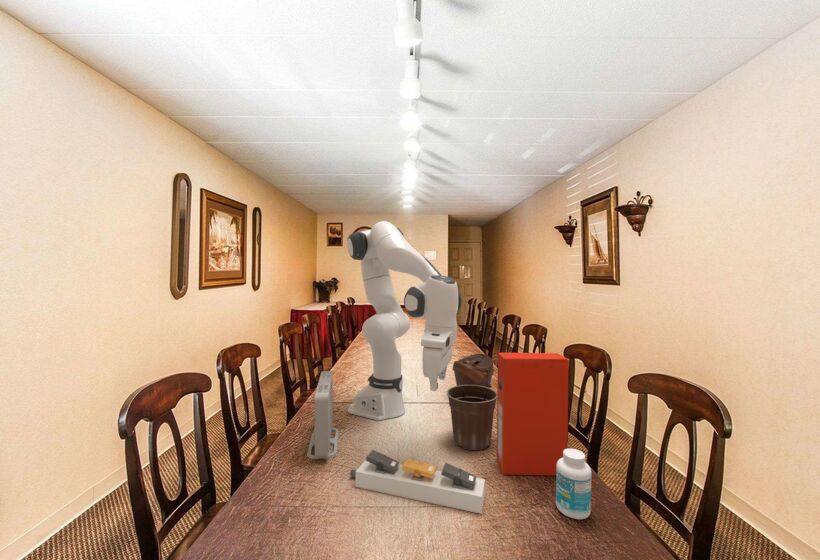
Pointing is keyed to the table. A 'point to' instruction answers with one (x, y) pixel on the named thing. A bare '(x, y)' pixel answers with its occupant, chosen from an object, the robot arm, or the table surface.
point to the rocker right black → (459, 476)
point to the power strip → (421, 487)
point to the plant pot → (472, 415)
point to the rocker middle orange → (419, 468)
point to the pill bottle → (573, 485)
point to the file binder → (531, 412)
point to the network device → (323, 419)
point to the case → (474, 370)
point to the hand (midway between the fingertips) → (438, 384)
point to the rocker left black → (382, 461)
